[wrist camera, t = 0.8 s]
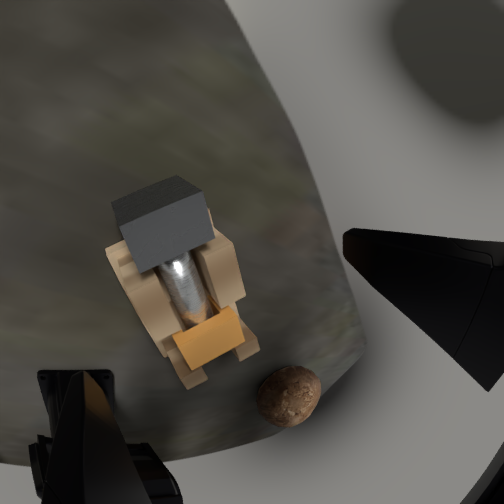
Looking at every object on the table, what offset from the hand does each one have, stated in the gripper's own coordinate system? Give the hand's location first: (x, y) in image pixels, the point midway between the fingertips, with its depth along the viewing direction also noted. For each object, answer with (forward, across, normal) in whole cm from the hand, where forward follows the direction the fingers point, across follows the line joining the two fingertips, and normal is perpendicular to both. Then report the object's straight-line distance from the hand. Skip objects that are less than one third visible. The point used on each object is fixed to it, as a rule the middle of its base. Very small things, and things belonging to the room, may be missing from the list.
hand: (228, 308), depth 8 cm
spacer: (+9, 0, +8) cm, 12 cm away
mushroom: (+12, -6, +26) cm, 30 cm away
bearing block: (+12, 0, +7) cm, 13 cm away
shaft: (+10, 0, +5) cm, 11 cm away
